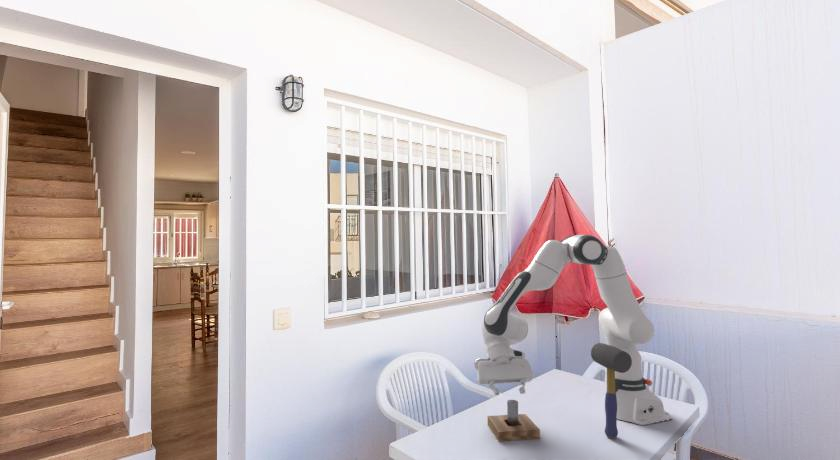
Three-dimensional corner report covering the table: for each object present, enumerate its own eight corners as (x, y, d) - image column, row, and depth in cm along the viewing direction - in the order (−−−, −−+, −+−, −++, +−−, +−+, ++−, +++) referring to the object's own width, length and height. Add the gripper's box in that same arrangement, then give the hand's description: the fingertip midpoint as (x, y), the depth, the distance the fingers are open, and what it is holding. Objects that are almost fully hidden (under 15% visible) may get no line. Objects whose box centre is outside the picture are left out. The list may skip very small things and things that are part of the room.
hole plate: (525, 422, 145) (525, 413, 145) (539, 438, 133) (539, 429, 134) (487, 424, 144) (487, 416, 144) (498, 441, 132) (498, 431, 132)
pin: (516, 428, 141) (515, 399, 141) (519, 433, 137) (519, 403, 137) (505, 429, 140) (505, 399, 140) (509, 434, 136) (509, 404, 137)
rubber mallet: (635, 445, 129) (634, 350, 130) (615, 447, 128) (614, 351, 128) (608, 427, 142) (607, 340, 142) (589, 429, 140) (588, 342, 141)
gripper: (474, 354, 148) (482, 391, 138) (528, 352, 151) (539, 388, 141) (471, 363, 153) (479, 399, 143) (523, 360, 155) (534, 396, 145)
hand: (509, 393), depth 142 cm, fingers open, 8 cm apart
